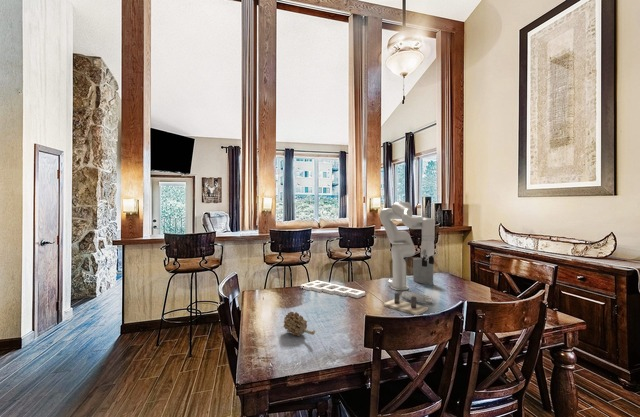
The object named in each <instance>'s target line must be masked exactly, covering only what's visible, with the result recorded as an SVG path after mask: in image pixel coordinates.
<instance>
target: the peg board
mask: <svg viewBox="0 0 640 417" xmlns="http://www.w3.org/2000/svg"><path fill="white" fill-rule="evenodd" d="M400 297H401V296H400V292H394V298H392V299H391V300H388V301H386V302H384V303H383V306H384V307H385V308H386V307H387V308H390V309H393V310H397V311H401V312H403V313H404V312H405V313H408V314H411V315H415V316H420V315H422V314H423V313H425V312H426V311H428V308H429V307H428V306H424V305H421V304H417V301H416V297H414V296H412V297H411V300H410V302H408V301H405V300H401V299H400Z"/></svg>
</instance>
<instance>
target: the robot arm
mask: <svg viewBox="0 0 640 417" xmlns="http://www.w3.org/2000/svg"><path fill="white" fill-rule="evenodd" d="M413 212H414V211H413V206H412V204H411V203H410V202H408V201H403V202H402V201H397V202H394V203H393V204H392V205H391V207H387V208H383V209H381V210H380V212H379V220H380V223H381V224H382V226H383V228H384V231H385V233H386V236H387V239H388V240H389V242H390V244H392V246H391V248H390V249H391V250H390V253H391V257H392V258H391V259H392V280H391V279H389V280H388V284H391V285H390V288H391V289H392V290H396V291H407V290H409V288H410V287H409V286H408V285H407V262H406V260H405V258H411V257H414V256H415V254H416V248H415V244H414V242H413V239H412V238H411V235H410V233H409V232H408V231H406V230H398V228H397V225H396V224H395V223H394V221H393V220H401V222H402V225H404V226H405V227H406V228H408V229H410V230H421V243H420V244H421V245H420V257H421V258H422V266H424V267H427V260H429V264H433V265H434V264H435V252H436V250H435V240H436V239H435V234H436V233H435V231H436V230H435V226H436V224H435V222H436V221H435V219H434V218H431V217H426V216H423V217H422V216H419V217H417V216H416V217H415V216H414V217H413V214H414V213H413Z"/></svg>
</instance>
